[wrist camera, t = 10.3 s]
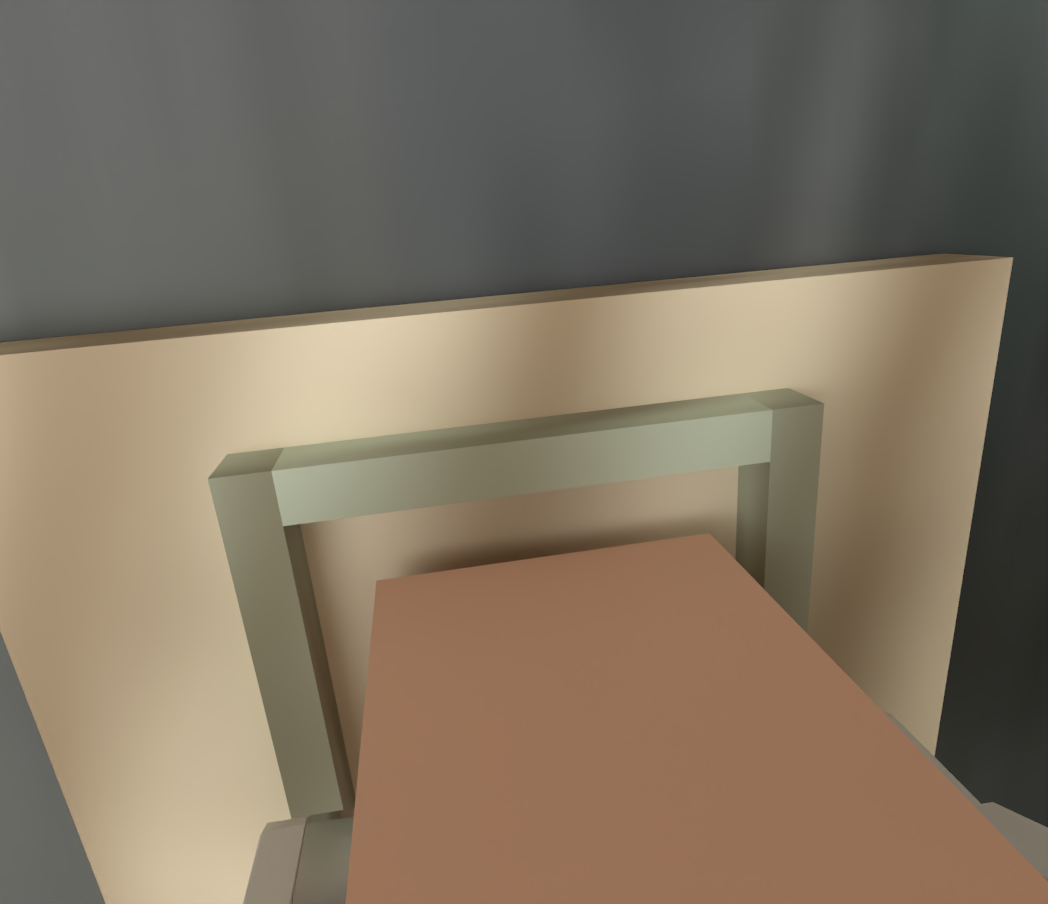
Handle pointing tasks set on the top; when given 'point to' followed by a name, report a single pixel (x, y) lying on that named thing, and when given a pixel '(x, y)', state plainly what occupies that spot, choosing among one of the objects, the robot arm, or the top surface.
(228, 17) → the top surface
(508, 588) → the block
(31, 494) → the build board
